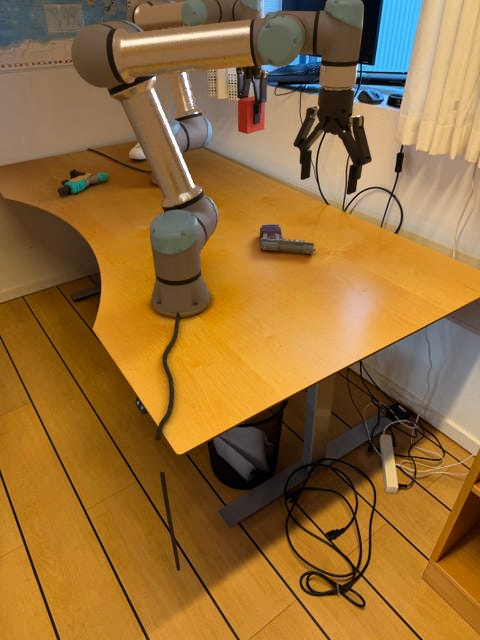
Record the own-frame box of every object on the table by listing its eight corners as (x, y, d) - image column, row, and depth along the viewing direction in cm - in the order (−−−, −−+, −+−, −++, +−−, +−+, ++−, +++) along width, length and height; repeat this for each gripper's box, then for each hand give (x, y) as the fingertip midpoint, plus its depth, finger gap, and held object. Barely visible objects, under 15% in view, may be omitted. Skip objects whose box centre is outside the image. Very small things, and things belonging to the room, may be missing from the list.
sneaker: (123, 162, 220) (119, 135, 213) (150, 145, 242) (147, 120, 235) (143, 164, 218) (140, 137, 210) (169, 146, 240) (166, 121, 232)
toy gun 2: (318, 236, 156) (314, 258, 144) (261, 232, 159) (253, 253, 147) (319, 225, 153) (315, 247, 141) (262, 221, 156) (253, 242, 145)
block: (264, 129, 173) (265, 97, 167) (247, 134, 168) (247, 101, 162) (255, 126, 176) (255, 95, 169) (238, 131, 171) (237, 99, 164)
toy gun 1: (36, 183, 186) (64, 189, 180) (82, 165, 204) (109, 170, 199) (38, 194, 188) (67, 201, 183) (84, 175, 207) (111, 180, 201)
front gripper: (399, 92, 95) (381, 194, 107) (303, 77, 109) (297, 169, 122) (378, 98, 90) (362, 204, 103) (281, 82, 105) (277, 176, 118)
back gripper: (279, 49, 153) (276, 124, 167) (241, 44, 164) (241, 116, 177) (263, 51, 149) (261, 129, 163) (225, 46, 159) (226, 119, 173)
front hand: (327, 185), depth 112 cm, fingers open, 13 cm apart
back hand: (251, 122), depth 170 cm, fingers closed on block, 5 cm apart
